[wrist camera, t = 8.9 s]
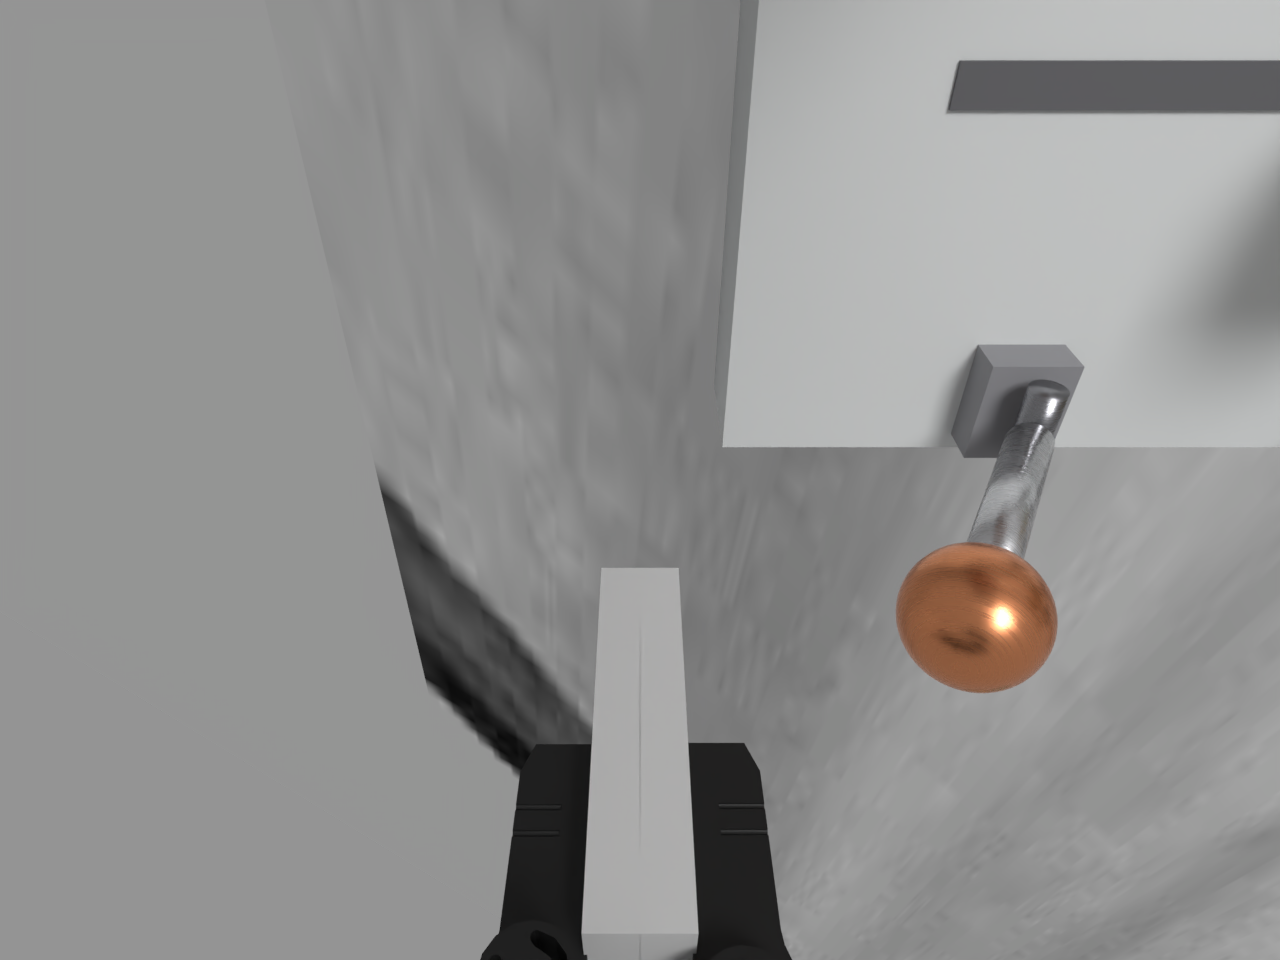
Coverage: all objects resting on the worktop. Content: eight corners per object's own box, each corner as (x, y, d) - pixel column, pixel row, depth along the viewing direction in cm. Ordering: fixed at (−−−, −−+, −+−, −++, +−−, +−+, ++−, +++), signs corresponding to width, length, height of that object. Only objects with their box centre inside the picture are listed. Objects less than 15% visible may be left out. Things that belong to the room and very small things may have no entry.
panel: (744, -59, 19) (769, -38, 15) (1792, -59, 19) (2075, -38, 15) (713, 385, 26) (725, 471, 23) (1453, 385, 26) (1584, 471, 23)
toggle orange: (993, 359, 21) (894, 584, 14) (1118, 389, 20) (1069, 648, 13) (964, 449, 23) (864, 684, 16) (1076, 482, 22) (1016, 748, 15)
